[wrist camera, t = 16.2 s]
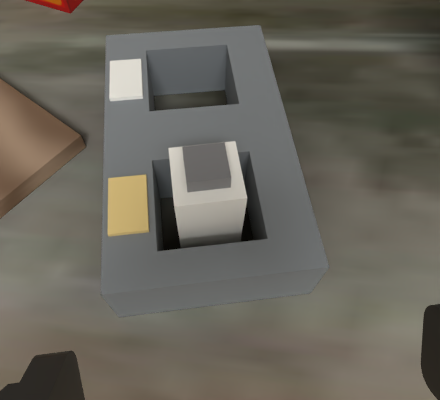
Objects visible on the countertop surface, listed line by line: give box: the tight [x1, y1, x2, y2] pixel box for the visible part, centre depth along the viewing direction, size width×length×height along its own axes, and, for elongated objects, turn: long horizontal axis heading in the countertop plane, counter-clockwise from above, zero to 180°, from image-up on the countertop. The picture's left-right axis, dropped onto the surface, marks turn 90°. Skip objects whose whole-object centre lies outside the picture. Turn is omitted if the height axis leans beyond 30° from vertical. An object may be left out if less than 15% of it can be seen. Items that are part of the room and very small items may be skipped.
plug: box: [168, 141, 247, 249], centre depth 25 cm, size 4×4×9 cm
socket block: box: [101, 25, 329, 317], centre depth 30 cm, size 22×13×5 cm, turn 8°
